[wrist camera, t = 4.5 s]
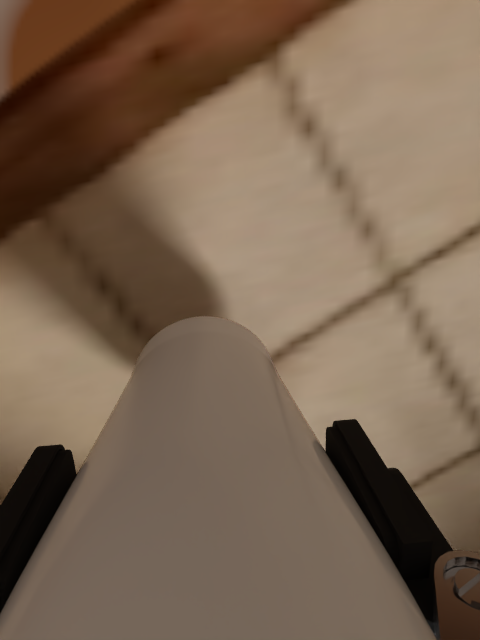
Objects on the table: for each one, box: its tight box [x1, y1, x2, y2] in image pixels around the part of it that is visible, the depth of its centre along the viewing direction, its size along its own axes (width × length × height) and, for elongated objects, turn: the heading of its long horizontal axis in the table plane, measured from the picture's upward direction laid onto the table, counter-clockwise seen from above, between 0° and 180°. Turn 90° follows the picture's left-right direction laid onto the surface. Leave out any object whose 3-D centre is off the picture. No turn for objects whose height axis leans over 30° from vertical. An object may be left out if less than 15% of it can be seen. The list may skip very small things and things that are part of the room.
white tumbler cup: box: [0, 316, 437, 640], centre depth 10 cm, size 7×7×15 cm
